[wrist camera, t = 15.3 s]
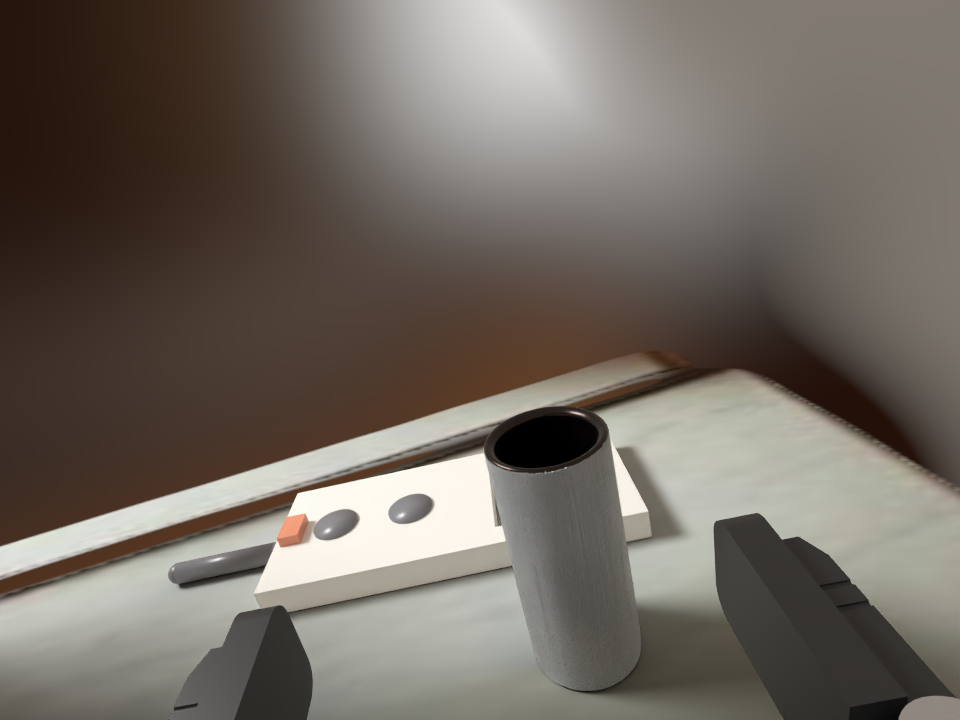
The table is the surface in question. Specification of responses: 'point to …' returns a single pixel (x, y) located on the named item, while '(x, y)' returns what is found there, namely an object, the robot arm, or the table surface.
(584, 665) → the planter
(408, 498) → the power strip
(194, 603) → the table surface
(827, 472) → the table surface
